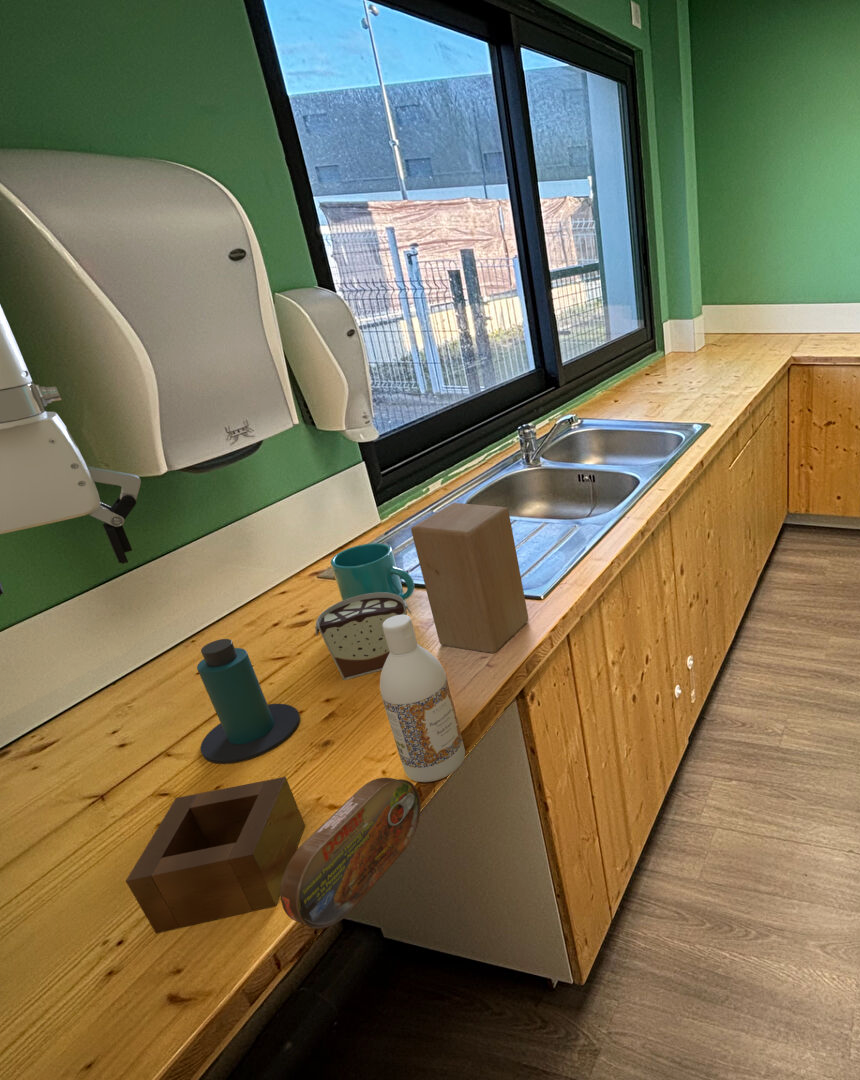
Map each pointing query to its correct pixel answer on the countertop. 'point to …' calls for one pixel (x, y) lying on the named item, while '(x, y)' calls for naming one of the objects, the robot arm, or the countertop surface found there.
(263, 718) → the bottle
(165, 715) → the countertop surface
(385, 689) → the bath foam
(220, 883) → the holder
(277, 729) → the coaster
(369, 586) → the cup
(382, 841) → the tin
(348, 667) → the food container
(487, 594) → the wooden block
